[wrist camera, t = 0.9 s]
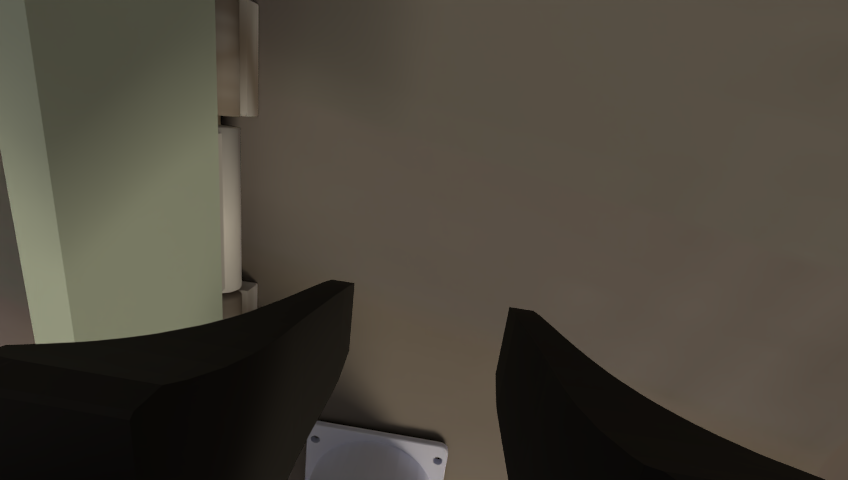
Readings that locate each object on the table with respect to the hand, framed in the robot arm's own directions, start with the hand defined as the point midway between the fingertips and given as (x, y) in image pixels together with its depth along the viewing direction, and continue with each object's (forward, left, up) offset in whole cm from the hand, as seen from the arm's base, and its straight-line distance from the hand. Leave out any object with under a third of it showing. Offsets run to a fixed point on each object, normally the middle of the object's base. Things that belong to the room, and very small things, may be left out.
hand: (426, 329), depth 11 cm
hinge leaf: (0, +10, -3) cm, 11 cm away
